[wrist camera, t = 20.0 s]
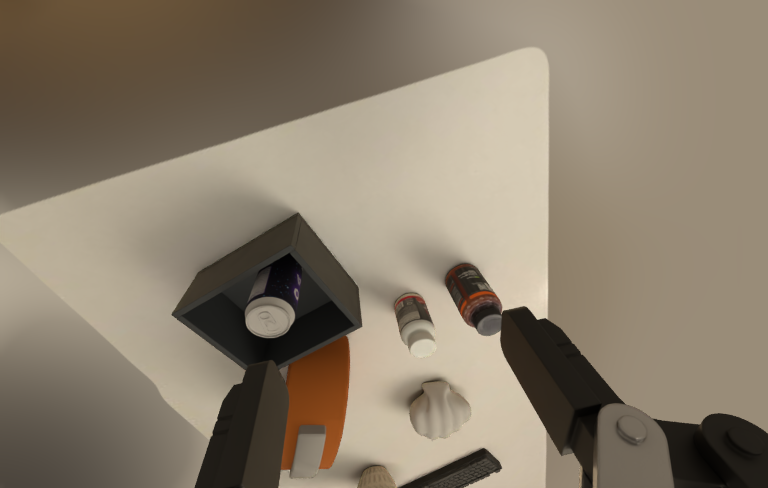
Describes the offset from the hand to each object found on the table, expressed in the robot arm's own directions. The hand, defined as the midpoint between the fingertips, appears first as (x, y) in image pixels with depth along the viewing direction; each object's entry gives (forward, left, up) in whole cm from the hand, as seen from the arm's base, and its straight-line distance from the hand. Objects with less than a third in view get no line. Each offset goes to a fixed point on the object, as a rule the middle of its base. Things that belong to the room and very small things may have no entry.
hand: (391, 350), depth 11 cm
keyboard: (+91, -29, -33) cm, 101 cm away
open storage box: (+12, -20, -33) cm, 40 cm away
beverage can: (+9, -18, -32) cm, 38 cm away
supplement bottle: (+28, +4, -33) cm, 44 cm away
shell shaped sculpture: (+55, -13, -33) cm, 66 cm away
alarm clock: (+31, -28, -33) cm, 53 cm away
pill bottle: (+28, -6, -33) cm, 44 cm away
